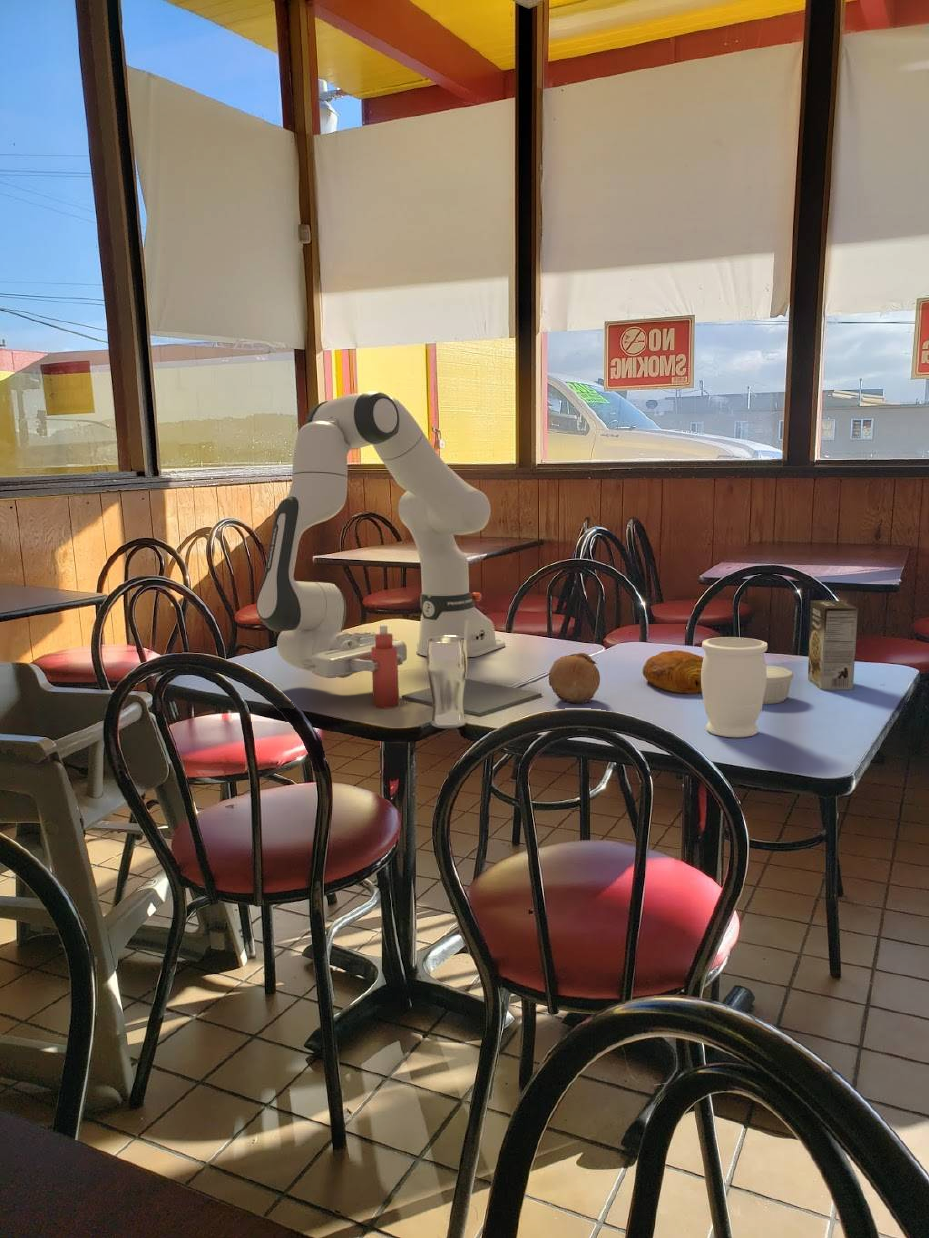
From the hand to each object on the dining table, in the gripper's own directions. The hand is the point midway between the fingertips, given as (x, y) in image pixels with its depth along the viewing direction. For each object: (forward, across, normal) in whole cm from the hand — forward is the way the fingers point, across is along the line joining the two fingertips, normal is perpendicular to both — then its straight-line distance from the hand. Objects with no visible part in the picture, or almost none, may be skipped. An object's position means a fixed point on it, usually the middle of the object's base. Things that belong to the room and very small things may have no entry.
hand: (388, 663), depth 177 cm
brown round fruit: (+25, +24, +8) cm, 36 cm away
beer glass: (+17, -2, +8) cm, 19 cm away
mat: (+8, +14, +8) cm, 18 cm away
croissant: (+35, +47, +8) cm, 59 cm away
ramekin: (+51, +47, +8) cm, 70 cm away
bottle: (-1, 0, +8) cm, 8 cm away
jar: (+57, +24, +8) cm, 62 cm away
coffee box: (+57, +65, +8) cm, 87 cm away
